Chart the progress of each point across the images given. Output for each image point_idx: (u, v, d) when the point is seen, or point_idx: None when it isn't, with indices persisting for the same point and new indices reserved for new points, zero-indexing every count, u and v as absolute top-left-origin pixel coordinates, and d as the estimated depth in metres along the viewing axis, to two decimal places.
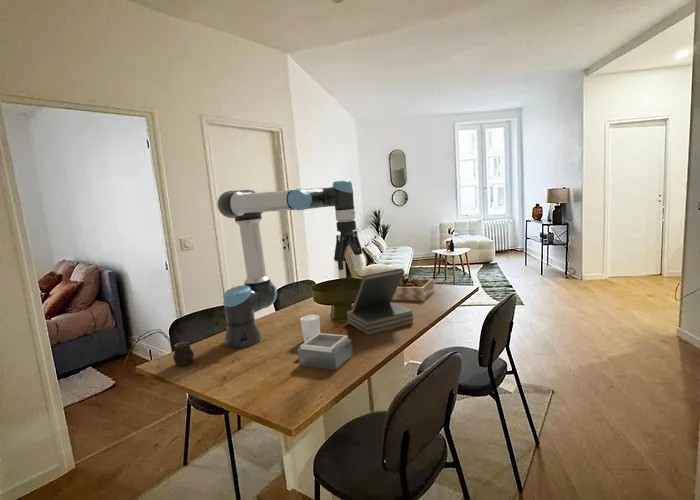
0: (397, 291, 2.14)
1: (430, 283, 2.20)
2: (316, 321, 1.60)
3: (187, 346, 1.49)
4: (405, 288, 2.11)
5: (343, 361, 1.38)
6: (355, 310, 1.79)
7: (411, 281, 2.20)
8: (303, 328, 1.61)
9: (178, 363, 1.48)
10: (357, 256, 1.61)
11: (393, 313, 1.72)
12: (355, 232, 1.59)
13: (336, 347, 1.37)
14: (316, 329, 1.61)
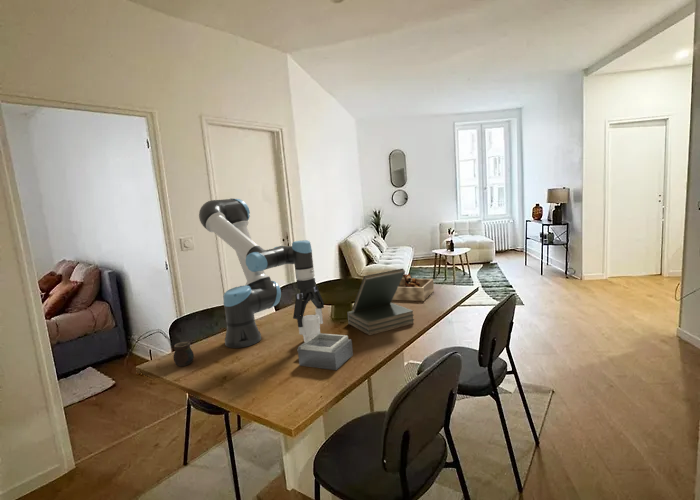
0: (397, 291, 2.14)
1: (430, 283, 2.20)
2: (316, 321, 1.60)
3: (187, 346, 1.49)
4: (405, 288, 2.11)
5: (343, 361, 1.38)
6: (355, 310, 1.78)
7: (413, 281, 2.20)
8: None
9: (178, 363, 1.48)
10: (319, 310, 1.68)
11: (394, 313, 1.72)
12: (316, 287, 1.66)
13: (336, 347, 1.37)
14: (316, 329, 1.61)
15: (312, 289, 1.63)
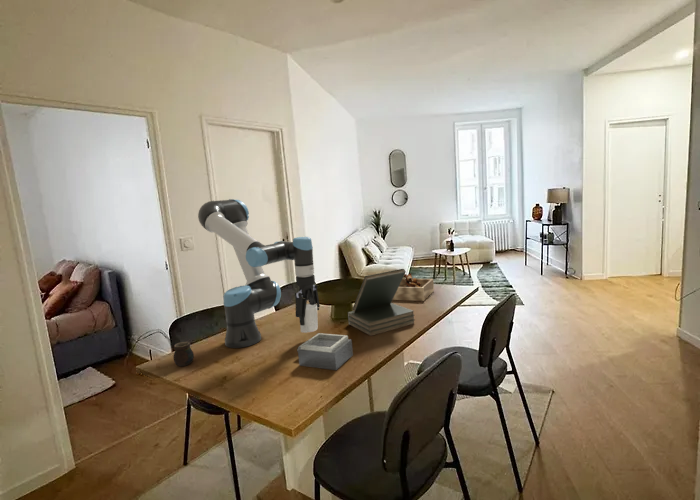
0: (397, 291, 2.14)
1: (430, 283, 2.20)
2: (314, 310, 1.60)
3: (187, 346, 1.49)
4: (405, 288, 2.11)
5: (343, 361, 1.38)
6: (356, 311, 1.77)
7: (414, 281, 2.20)
8: None
9: (178, 363, 1.48)
10: None
11: (395, 313, 1.71)
12: (315, 286, 1.66)
13: (336, 347, 1.37)
14: (313, 318, 1.60)
15: (311, 286, 1.63)
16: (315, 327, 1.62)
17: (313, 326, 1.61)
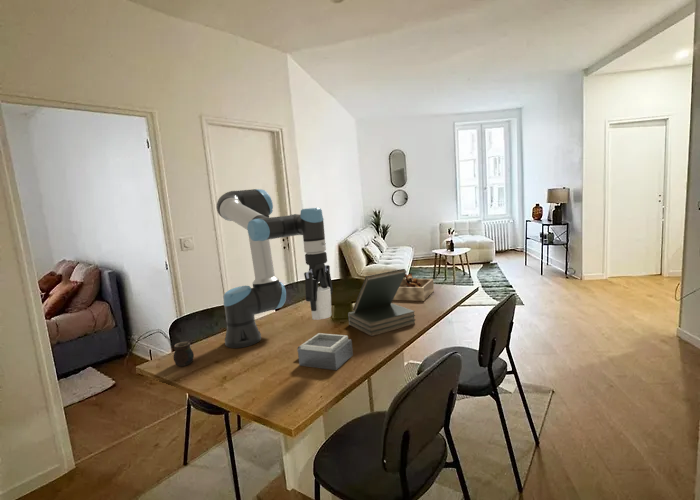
0: (397, 291, 2.14)
1: (430, 283, 2.20)
2: (327, 293, 1.37)
3: (187, 346, 1.49)
4: (405, 288, 2.11)
5: (343, 361, 1.38)
6: (356, 311, 1.77)
7: (414, 281, 2.20)
8: None
9: (178, 363, 1.48)
10: None
11: (395, 313, 1.71)
12: (327, 266, 1.43)
13: (336, 347, 1.37)
14: (327, 302, 1.37)
15: (323, 265, 1.40)
16: (328, 313, 1.38)
17: (326, 312, 1.38)
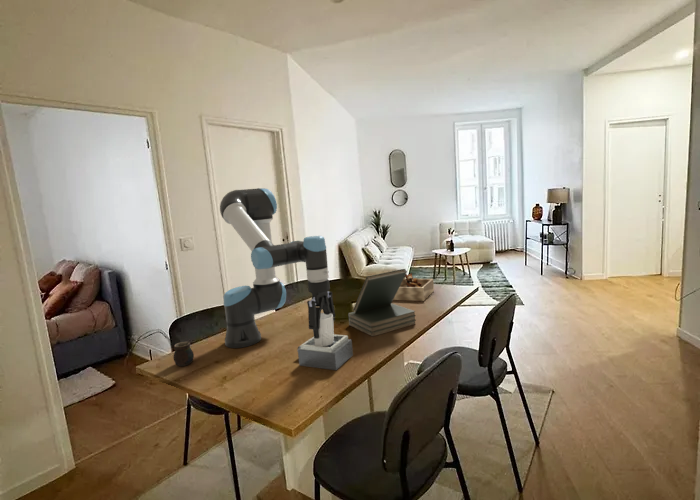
0: (397, 291, 2.14)
1: (430, 283, 2.20)
2: (329, 321, 1.38)
3: (187, 346, 1.49)
4: (405, 288, 2.11)
5: (343, 361, 1.38)
6: (357, 312, 1.76)
7: (414, 281, 2.20)
8: None
9: (178, 363, 1.48)
10: None
11: (396, 314, 1.70)
12: (330, 293, 1.44)
13: (336, 347, 1.37)
14: (329, 330, 1.38)
15: (325, 292, 1.41)
16: (331, 340, 1.40)
17: (329, 339, 1.39)
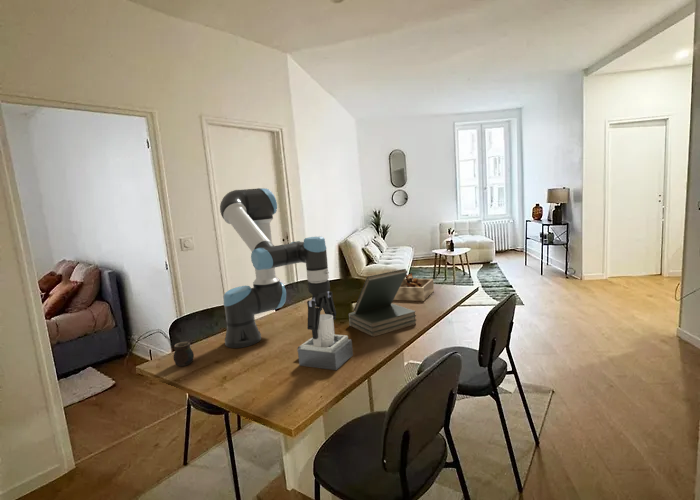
0: (397, 291, 2.14)
1: (430, 283, 2.20)
2: (330, 322, 1.38)
3: (187, 346, 1.49)
4: (405, 288, 2.11)
5: (343, 361, 1.38)
6: (357, 312, 1.76)
7: (414, 281, 2.20)
8: None
9: (178, 363, 1.48)
10: None
11: (396, 314, 1.70)
12: (330, 293, 1.44)
13: (336, 347, 1.37)
14: (330, 331, 1.39)
15: (325, 293, 1.41)
16: (331, 341, 1.40)
17: (329, 340, 1.39)
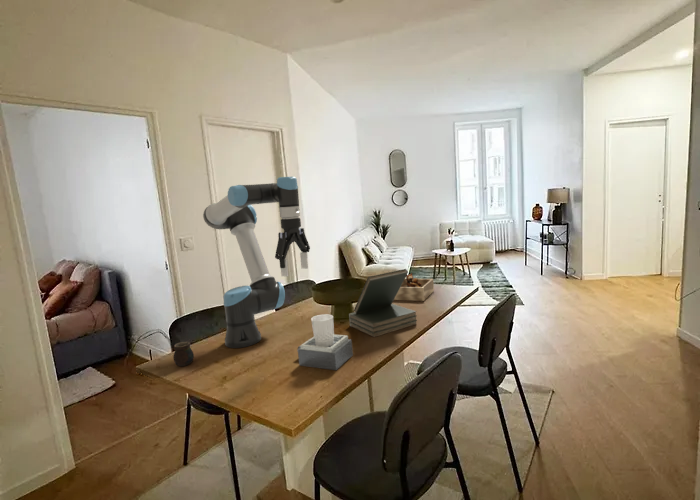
0: None
1: (430, 283, 2.20)
2: (330, 322, 1.38)
3: (187, 346, 1.49)
4: (405, 288, 2.11)
5: (343, 361, 1.38)
6: (357, 312, 1.75)
7: (415, 281, 2.20)
8: (315, 330, 1.39)
9: (178, 363, 1.48)
10: (304, 254, 1.58)
11: (397, 314, 1.70)
12: (302, 229, 1.56)
13: (336, 347, 1.37)
14: (330, 331, 1.39)
15: (297, 230, 1.53)
16: (331, 341, 1.40)
17: (329, 340, 1.39)
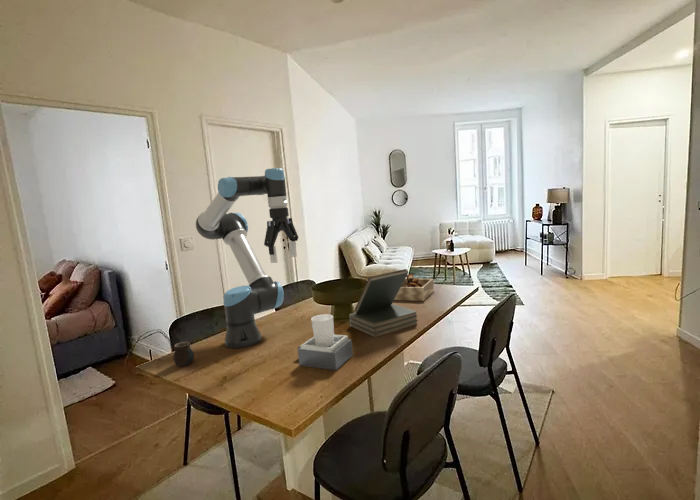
0: None
1: (430, 283, 2.20)
2: (330, 322, 1.38)
3: (187, 346, 1.49)
4: (405, 288, 2.11)
5: (343, 361, 1.38)
6: (358, 312, 1.75)
7: (415, 281, 2.20)
8: (315, 330, 1.39)
9: (178, 363, 1.48)
10: (292, 242, 1.66)
11: (398, 314, 1.69)
12: (290, 219, 1.64)
13: (336, 347, 1.37)
14: (330, 331, 1.39)
15: (285, 219, 1.61)
16: (331, 341, 1.40)
17: (329, 340, 1.39)
